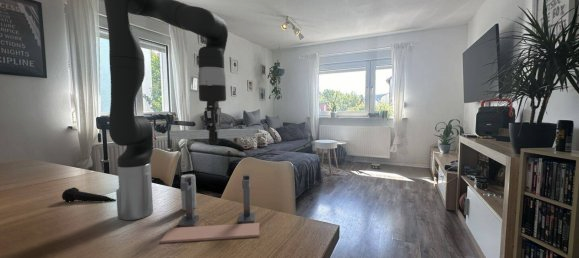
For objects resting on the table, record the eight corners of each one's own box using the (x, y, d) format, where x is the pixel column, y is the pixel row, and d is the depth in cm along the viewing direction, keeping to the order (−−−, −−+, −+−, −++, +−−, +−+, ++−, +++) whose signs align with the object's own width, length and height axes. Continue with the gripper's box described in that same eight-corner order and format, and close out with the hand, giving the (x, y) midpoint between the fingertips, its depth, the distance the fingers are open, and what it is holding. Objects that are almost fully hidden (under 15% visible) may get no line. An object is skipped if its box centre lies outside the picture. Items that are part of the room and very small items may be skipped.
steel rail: (169, 139, 69) (169, 131, 68) (172, 138, 71) (172, 130, 71) (255, 137, 72) (255, 129, 72) (255, 136, 74) (255, 128, 74)
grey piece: (191, 211, 84) (190, 177, 83) (178, 210, 85) (177, 177, 84) (199, 206, 89) (198, 174, 88) (187, 205, 89) (186, 173, 89)
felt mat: (160, 243, 64) (160, 240, 64) (170, 230, 71) (170, 228, 71) (259, 236, 67) (259, 234, 67) (259, 224, 74) (259, 222, 74)
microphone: (118, 207, 96) (68, 201, 96) (122, 192, 97) (72, 186, 97) (108, 208, 91) (55, 202, 91) (113, 193, 92) (60, 186, 92)
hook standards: (176, 228, 72) (174, 182, 71) (183, 219, 78) (181, 176, 77) (254, 223, 75) (253, 179, 74) (254, 215, 81) (254, 174, 80)
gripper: (204, 86, 76) (206, 141, 78) (192, 82, 63) (195, 148, 64) (228, 87, 77) (230, 140, 79) (222, 82, 64) (224, 147, 65)
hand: (214, 143), depth 71 cm, fingers closed on steel rail, 2 cm apart
